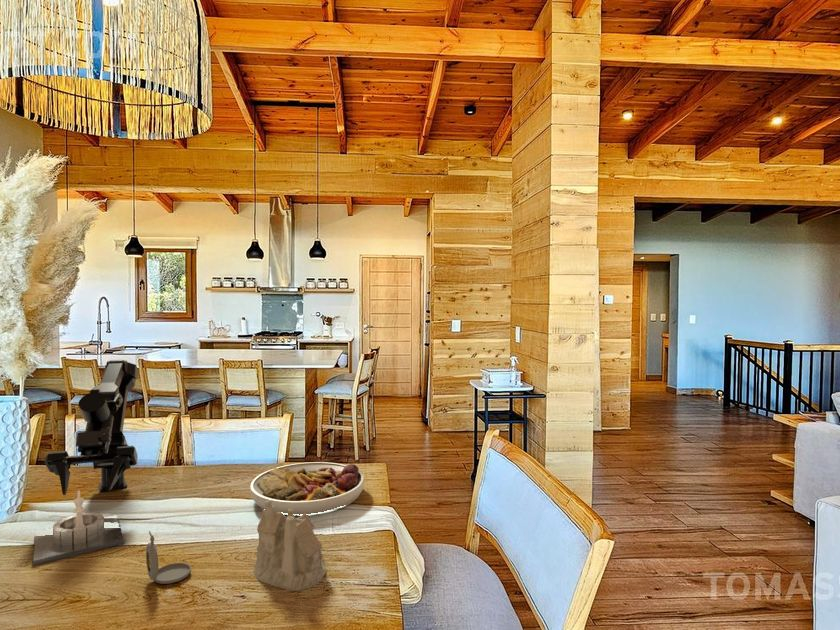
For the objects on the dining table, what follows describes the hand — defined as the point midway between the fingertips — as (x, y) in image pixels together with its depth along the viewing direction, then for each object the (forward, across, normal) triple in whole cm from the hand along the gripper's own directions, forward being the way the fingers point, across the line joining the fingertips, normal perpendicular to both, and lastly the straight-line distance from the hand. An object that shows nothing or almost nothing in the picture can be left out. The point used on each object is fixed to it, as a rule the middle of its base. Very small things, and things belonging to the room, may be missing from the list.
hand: (86, 492), depth 121 cm
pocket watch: (+27, +20, -15) cm, 37 cm away
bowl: (+5, +52, +8) cm, 52 cm away
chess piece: (+10, 0, +1) cm, 10 cm away
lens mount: (+10, 0, +1) cm, 11 cm away
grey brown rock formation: (+30, +45, -18) cm, 56 cm away
